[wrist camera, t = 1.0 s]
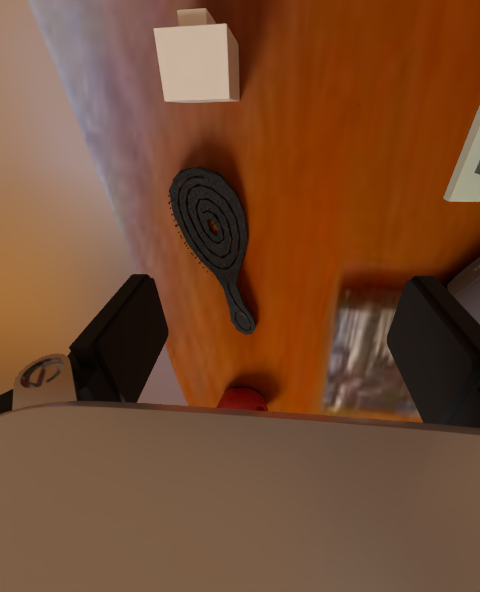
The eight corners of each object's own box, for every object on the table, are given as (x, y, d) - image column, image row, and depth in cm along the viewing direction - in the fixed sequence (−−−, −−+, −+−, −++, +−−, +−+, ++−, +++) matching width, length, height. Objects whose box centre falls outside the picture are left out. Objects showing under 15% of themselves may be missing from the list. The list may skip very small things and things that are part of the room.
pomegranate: (218, 407, 56) (208, 454, 48) (220, 377, 50) (208, 425, 42) (266, 416, 55) (263, 465, 47) (273, 386, 49) (271, 437, 42)
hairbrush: (222, 347, 41) (147, 182, 27) (225, 330, 44) (159, 173, 30) (275, 340, 40) (224, 159, 25) (275, 323, 42) (229, 152, 28)
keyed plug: (181, 32, 23) (150, 7, 18) (238, 28, 23) (225, 1, 17) (188, 102, 26) (164, 101, 20) (239, 100, 26) (229, 98, 20)
